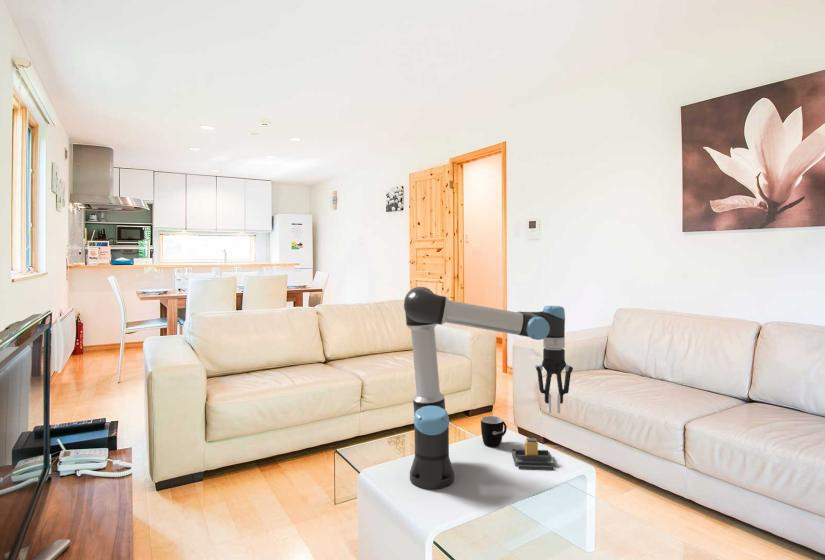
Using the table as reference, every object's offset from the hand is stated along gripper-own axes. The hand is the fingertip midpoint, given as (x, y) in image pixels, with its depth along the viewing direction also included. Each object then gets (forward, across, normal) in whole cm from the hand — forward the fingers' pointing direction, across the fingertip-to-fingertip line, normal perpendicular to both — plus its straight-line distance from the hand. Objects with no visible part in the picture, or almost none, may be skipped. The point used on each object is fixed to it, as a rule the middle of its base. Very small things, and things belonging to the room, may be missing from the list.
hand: (553, 411), depth 173 cm
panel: (+19, -8, 0) cm, 20 cm away
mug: (+19, -20, +16) cm, 32 cm away
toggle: (+17, -8, 0) cm, 19 cm away
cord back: (+19, -8, +8) cm, 22 cm away
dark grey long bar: (+19, -8, -7) cm, 21 cm away
